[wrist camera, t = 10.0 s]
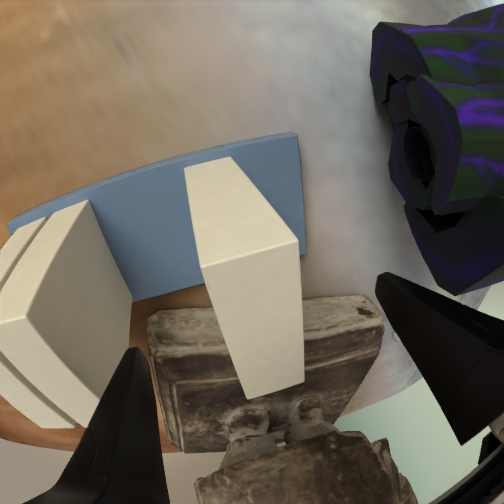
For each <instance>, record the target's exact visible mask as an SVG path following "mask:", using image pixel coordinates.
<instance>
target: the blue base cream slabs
mask: <svg viewBox="0 0 504 504" xmlns="http://www.w3.org/2000/svg"><path fill="white" fill-rule="evenodd" d="M226 157H231V158H232V159H233V160H234V161H235V163H236V164H237V165H238V166H239V167H240V168H241V170H242V171H243V172H244V173H245V174H246V176H247V177H248V178H249V179H250V180H251V182H252V183H253V184H254V185H255V186H256V188H257V189H258V190H259V191H260V193H261V194H262V195H263V196H264V197H265V199H266V200H267V201H268V202H269V204H270V205H271V206H272V207H273V208H274V210H275V211H276V212H277V213H278V215H279V216H280V217H281V218H282V220H283V221H284V222H285V223H286V225H287V226H288V227H289V228H290V230H291V231H292V232H293V234H294V235H295V236H296V237H297V239H298V240H299V253H300V256H302V255H305V254H307V250H306V232H305V216H304V202H303V189H302V177H301V166H300V156H299V146H298V136H297V135H296V134H294V133H291V132H289V133H283V134H277V135H271V136H265V137H260V138H255V139H250V140H245V141H240V142H235V143H230V144H226V145H221V146H217V147H213V148H209V149H205V150H200V151H196V152H193V153H189V154H185V155H181V156H177V157H174V158H170V159H167V160H163V161H160V162H156V163H153V164H150V165H146V166H143V167H140V168H137V169H134V170H131V171H128V172H125V173H122V174H119V175H116V176H113V177H110V178H107V179H104V180H102V181H99V182H96V183H93V184H91V185H88V186H86V187H83V188H80V189H78V190H75V191H73V192H70V193H68V194H65V195H63V196H61V197H58V198H56V199H53V200H51V201H49V202H47V203H44V204H42V205H40V206H38V207H35V208H33V209H31V210H29V211H27V212H25V213H23V214H21V215H18V216H16V217H14V218H13V219H12V220H11V221H10V222H9V223H8V224H7V227H8V229H9V231H10V233H11V235H12V236H11V237H10V239H9V240H8V241H7V242H6V244H5V245H4V246H3V248H2V249H1V250H0V395H1V396H2V397H3V398H5V399H6V400H7V401H8V402H9V403H10V404H12V405H13V406H14V407H15V408H16V409H18V410H19V411H20V412H21V413H23V414H24V415H25V416H26V417H28V418H29V419H30V420H32V421H33V422H34V423H36V424H37V425H38V426H40V427H41V428H76V421H77V422H78V423H79V424H81V425H82V426H83V427H88V424H89V422H90V419H91V417H92V415H93V413H94V411H95V409H96V407H97V405H98V403H99V401H100V399H101V397H102V395H103V393H104V391H105V389H106V387H107V385H108V383H109V381H110V379H111V377H112V376H113V374H114V372H115V370H116V368H117V366H118V364H119V362H120V360H121V359H122V357H123V355H124V353H125V351H126V350H127V349H128V348H129V331H130V318H131V307H132V302H136V301H140V300H144V299H147V298H151V297H155V296H159V295H162V294H166V293H170V292H174V291H177V290H181V289H185V288H188V287H192V286H196V285H199V284H203V283H205V281H204V278H203V275H202V272H201V269H200V264H199V259H198V253H197V248H196V242H195V236H194V231H193V225H192V219H191V213H190V206H189V200H188V194H187V187H186V180H185V173H184V168H186V167H189V166H193V165H197V164H201V163H205V162H209V161H213V160H217V159H221V158H226Z"/></svg>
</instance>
